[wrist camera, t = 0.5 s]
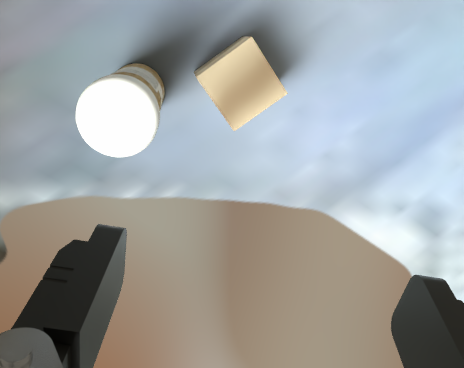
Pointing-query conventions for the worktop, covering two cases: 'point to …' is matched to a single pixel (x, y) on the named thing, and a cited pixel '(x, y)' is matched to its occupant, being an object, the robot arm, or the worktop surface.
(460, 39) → the worktop surface
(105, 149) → the sprinkles bottle
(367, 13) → the worktop surface
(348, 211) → the worktop surface
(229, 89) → the beech block
